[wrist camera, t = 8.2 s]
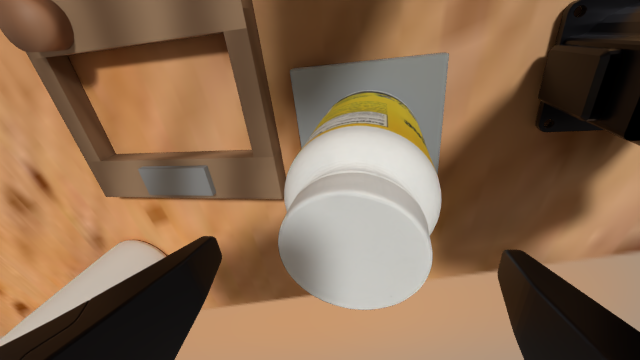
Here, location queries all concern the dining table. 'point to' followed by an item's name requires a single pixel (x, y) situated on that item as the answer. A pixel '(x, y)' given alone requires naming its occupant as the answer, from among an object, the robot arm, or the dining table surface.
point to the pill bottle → (361, 205)
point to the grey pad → (380, 75)
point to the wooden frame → (138, 29)
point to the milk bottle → (91, 283)
